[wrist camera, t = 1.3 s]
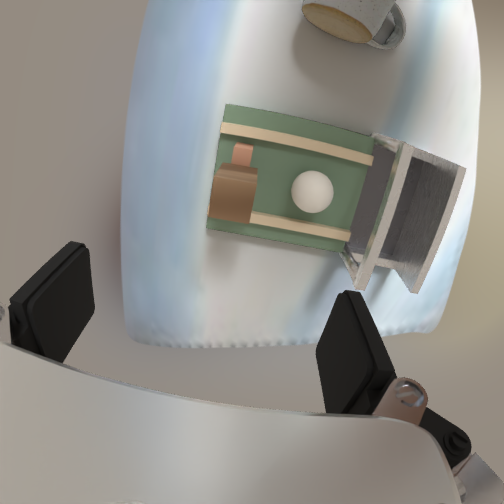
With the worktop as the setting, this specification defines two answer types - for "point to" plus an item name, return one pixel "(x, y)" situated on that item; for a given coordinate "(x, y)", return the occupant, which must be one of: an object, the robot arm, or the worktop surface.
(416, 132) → the worktop surface
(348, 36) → the ceramic mug
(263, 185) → the field
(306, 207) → the ball
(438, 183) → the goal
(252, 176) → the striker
